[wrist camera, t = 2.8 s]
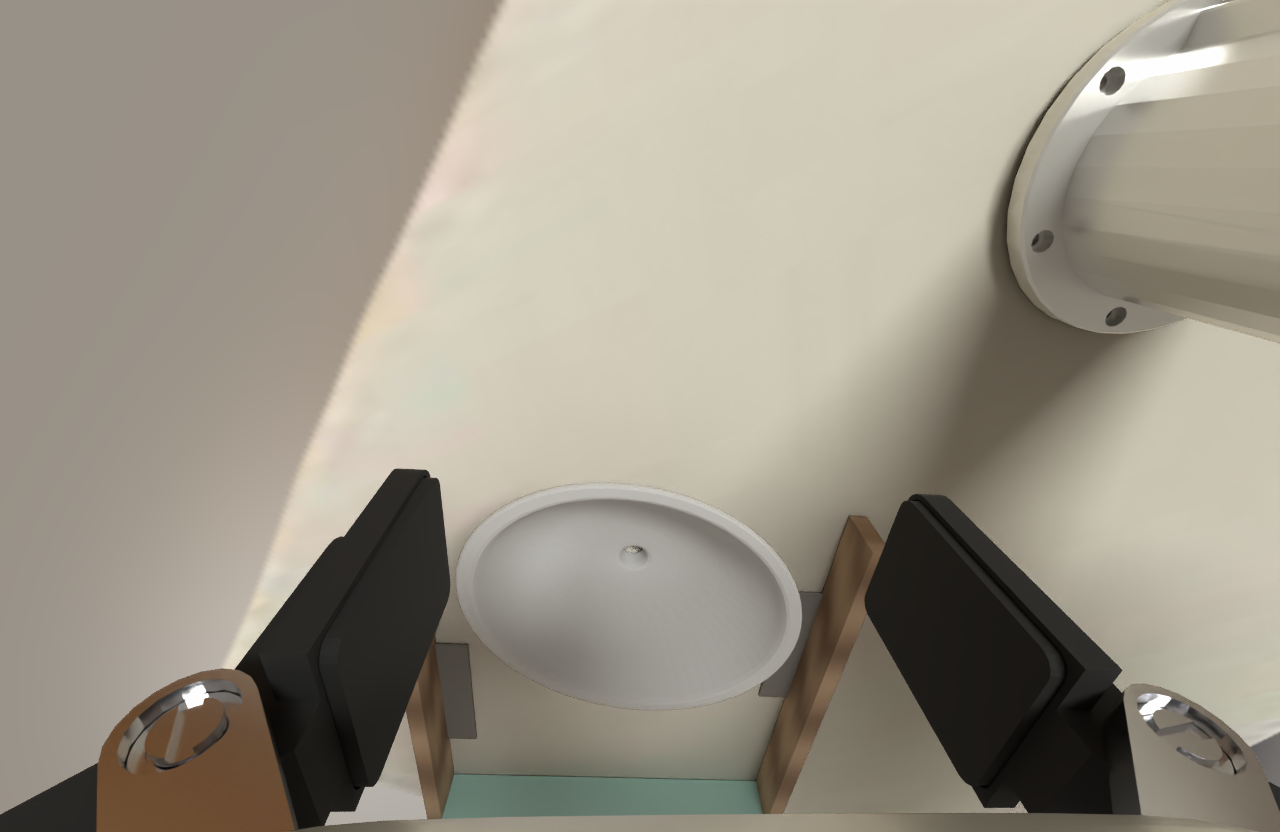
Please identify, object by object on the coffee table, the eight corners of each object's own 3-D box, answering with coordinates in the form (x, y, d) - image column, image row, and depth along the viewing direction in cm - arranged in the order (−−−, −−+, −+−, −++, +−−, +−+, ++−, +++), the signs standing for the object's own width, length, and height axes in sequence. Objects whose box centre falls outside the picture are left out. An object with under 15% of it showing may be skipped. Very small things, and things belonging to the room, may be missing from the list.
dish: (831, 520, 28) (869, 587, 24) (690, 665, 34) (699, 742, 29) (553, 372, 24) (536, 421, 19) (441, 568, 29) (408, 641, 25)
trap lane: (395, 489, 26) (348, 555, 22) (866, 516, 28) (911, 583, 24) (442, 781, 39) (418, 860, 35) (765, 788, 41) (782, 865, 36)
